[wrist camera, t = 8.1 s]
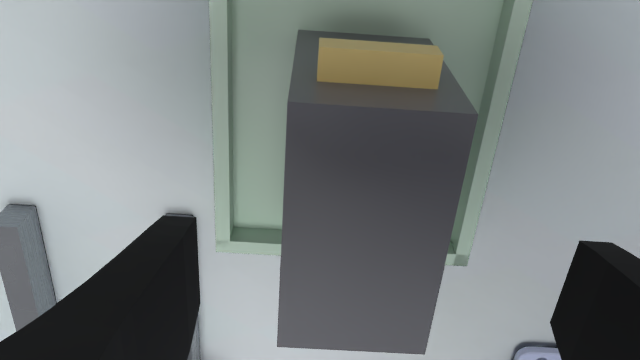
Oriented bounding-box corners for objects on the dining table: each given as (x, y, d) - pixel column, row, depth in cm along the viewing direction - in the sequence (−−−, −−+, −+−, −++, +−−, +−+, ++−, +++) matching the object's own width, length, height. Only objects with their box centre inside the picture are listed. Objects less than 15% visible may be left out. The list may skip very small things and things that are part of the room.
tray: (530, -72, 16) (549, -67, 15) (457, 242, 21) (466, 266, 20) (216, -96, 16) (206, -93, 14) (222, 228, 21) (215, 252, 20)
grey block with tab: (434, 12, 16) (486, 77, 11) (398, 229, 20) (424, 354, 15) (299, 2, 16) (289, 64, 11) (288, 222, 20) (277, 346, 15)
